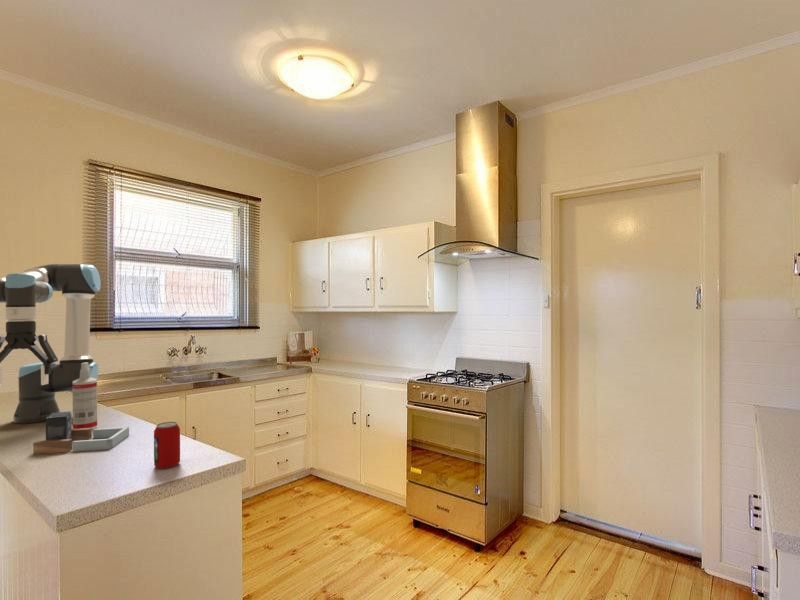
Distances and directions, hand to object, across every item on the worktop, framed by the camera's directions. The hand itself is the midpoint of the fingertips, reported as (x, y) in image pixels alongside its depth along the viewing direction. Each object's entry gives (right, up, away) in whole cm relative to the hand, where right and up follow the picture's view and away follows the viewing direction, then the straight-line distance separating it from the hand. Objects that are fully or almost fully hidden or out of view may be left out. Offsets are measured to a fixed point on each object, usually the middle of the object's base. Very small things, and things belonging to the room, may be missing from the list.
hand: (21, 385), depth 146 cm
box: (+10, -21, +3) cm, 23 cm away
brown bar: (+12, -21, +3) cm, 24 cm away
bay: (+23, -20, +5) cm, 31 cm away
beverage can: (+57, -20, -17) cm, 62 cm away
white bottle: (+5, -21, +23) cm, 31 cm away
